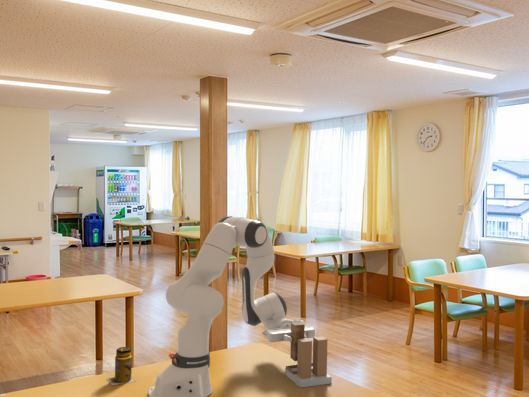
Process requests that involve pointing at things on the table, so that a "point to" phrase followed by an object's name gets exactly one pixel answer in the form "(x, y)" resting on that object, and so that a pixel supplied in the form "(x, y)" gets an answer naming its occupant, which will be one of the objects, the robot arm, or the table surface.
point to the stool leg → (296, 338)
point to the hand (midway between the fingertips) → (298, 339)
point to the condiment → (122, 367)
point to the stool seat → (310, 363)
